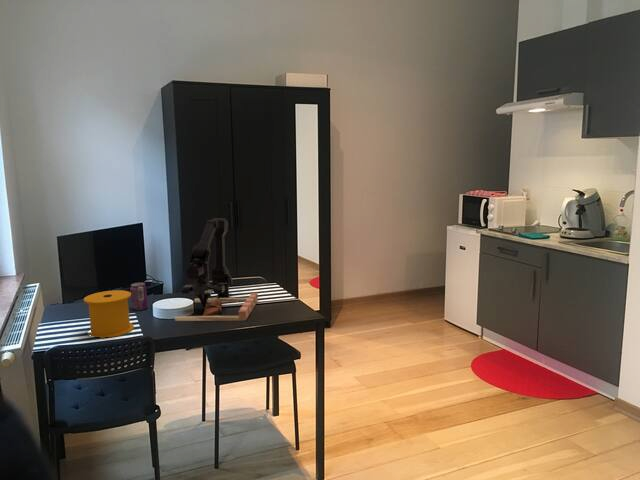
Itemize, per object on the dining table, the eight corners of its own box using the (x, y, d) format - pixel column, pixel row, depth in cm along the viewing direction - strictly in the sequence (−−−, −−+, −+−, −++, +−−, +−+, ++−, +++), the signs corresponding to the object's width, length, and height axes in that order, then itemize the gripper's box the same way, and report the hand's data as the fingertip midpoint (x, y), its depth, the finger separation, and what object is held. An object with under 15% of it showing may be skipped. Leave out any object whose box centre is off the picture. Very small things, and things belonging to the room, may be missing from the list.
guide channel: (195, 301, 256) (194, 293, 255) (257, 300, 254) (257, 292, 253) (175, 320, 226) (174, 312, 225) (245, 320, 224) (245, 311, 223)
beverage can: (150, 306, 248) (148, 282, 246) (144, 311, 241) (141, 286, 239) (136, 306, 249) (134, 282, 247) (129, 311, 242) (127, 286, 240)
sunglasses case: (203, 305, 248) (210, 293, 248) (217, 311, 250) (223, 299, 250) (202, 317, 231) (209, 303, 230) (216, 323, 232) (223, 310, 232)
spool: (87, 341, 204) (83, 304, 202) (87, 327, 220) (83, 293, 218) (135, 333, 211) (132, 298, 209) (132, 321, 227) (129, 287, 225)
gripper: (176, 278, 230) (178, 312, 233) (217, 278, 229) (219, 312, 231) (184, 272, 241) (186, 305, 244) (224, 272, 240) (226, 305, 242)
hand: (204, 307), depth 240 cm, fingers closed
